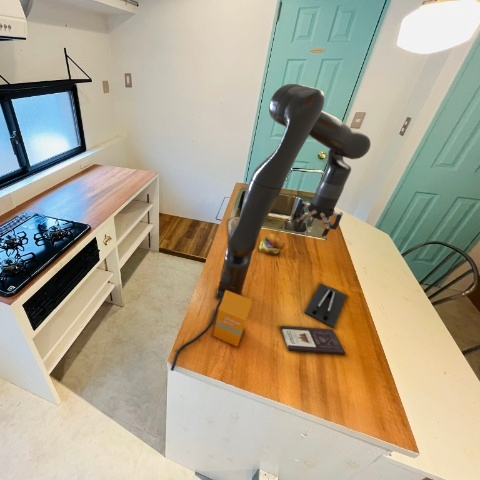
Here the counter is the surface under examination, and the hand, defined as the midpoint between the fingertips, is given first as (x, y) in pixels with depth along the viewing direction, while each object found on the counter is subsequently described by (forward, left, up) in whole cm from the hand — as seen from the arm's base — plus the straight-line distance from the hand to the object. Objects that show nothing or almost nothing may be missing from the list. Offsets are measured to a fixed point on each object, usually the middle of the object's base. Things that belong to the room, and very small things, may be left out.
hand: (311, 231), depth 99 cm
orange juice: (-44, +7, -26) cm, 51 cm away
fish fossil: (+20, +38, -26) cm, 50 cm away
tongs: (-6, -15, -25) cm, 30 cm away
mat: (-5, -16, -26) cm, 31 cm away
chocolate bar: (-27, -16, -26) cm, 40 cm away
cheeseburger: (+14, +16, -26) cm, 33 cm away
